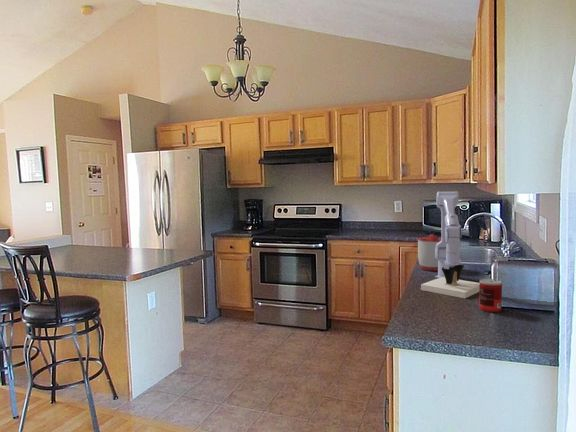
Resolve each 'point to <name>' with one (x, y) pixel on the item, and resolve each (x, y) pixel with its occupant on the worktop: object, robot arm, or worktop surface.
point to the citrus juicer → (428, 252)
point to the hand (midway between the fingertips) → (452, 282)
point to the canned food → (490, 295)
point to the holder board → (451, 287)
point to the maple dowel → (454, 280)
